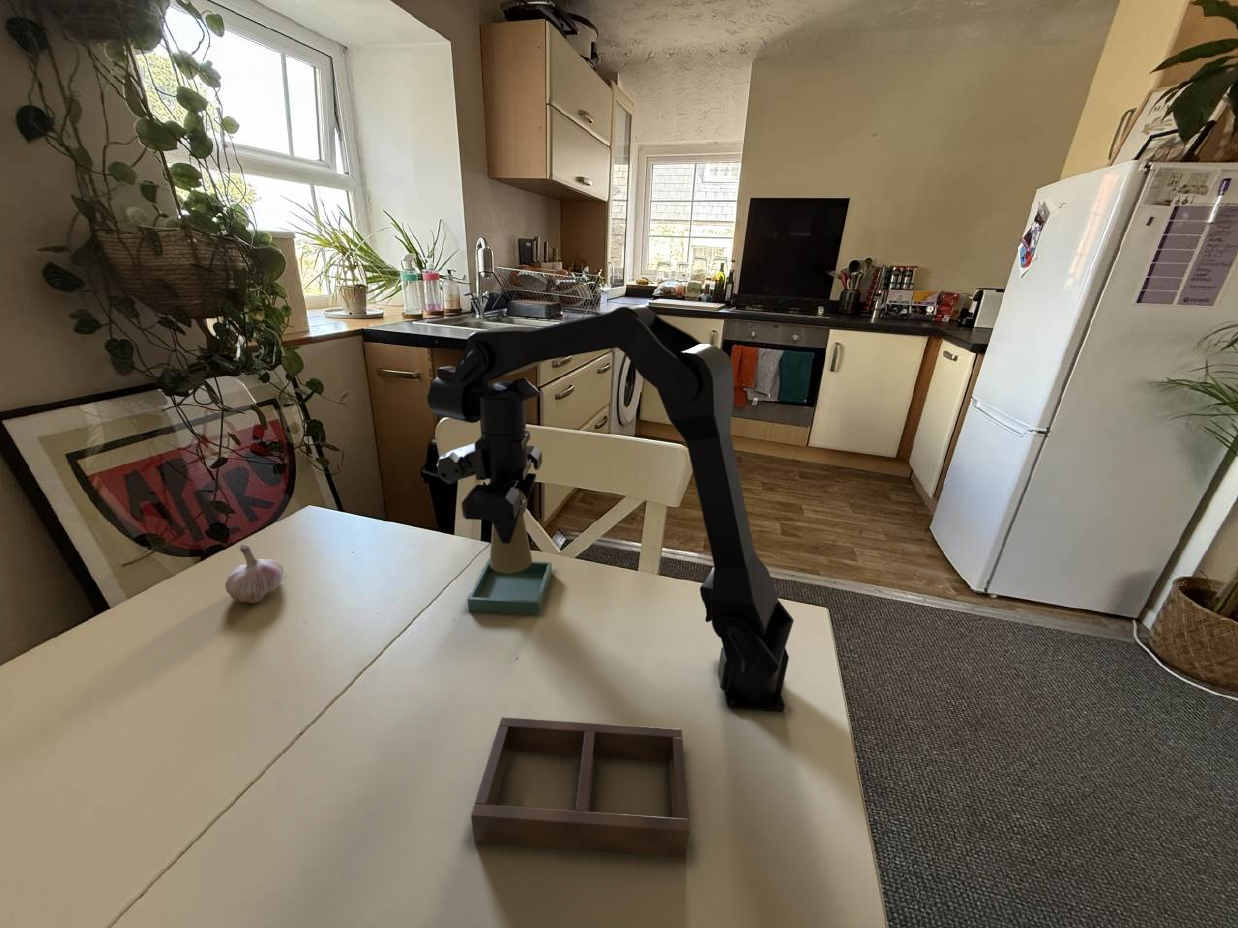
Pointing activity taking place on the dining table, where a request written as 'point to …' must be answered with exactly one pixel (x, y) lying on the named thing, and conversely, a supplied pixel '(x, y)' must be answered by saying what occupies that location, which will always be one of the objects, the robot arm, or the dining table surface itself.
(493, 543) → the tan pawn
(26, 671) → the dining table surface
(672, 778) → the divided wooden box
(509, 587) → the tray
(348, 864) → the dining table surface
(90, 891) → the dining table surface
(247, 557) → the garlic bulb
